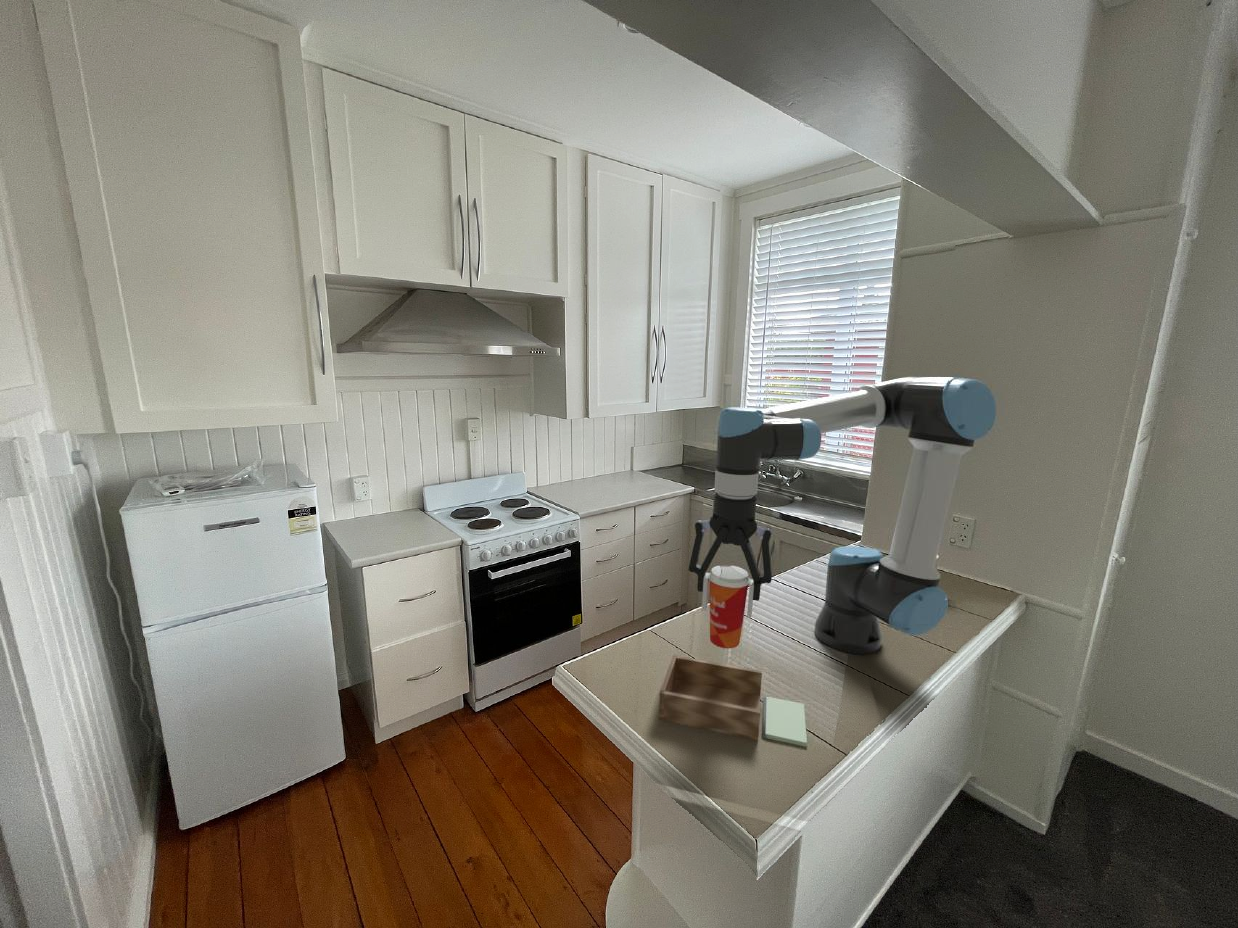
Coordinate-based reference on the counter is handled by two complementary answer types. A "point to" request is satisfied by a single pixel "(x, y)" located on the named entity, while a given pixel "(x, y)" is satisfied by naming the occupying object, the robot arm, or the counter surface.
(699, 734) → the counter surface
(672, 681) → the crate
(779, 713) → the book
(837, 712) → the counter surface
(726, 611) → the paper cup
